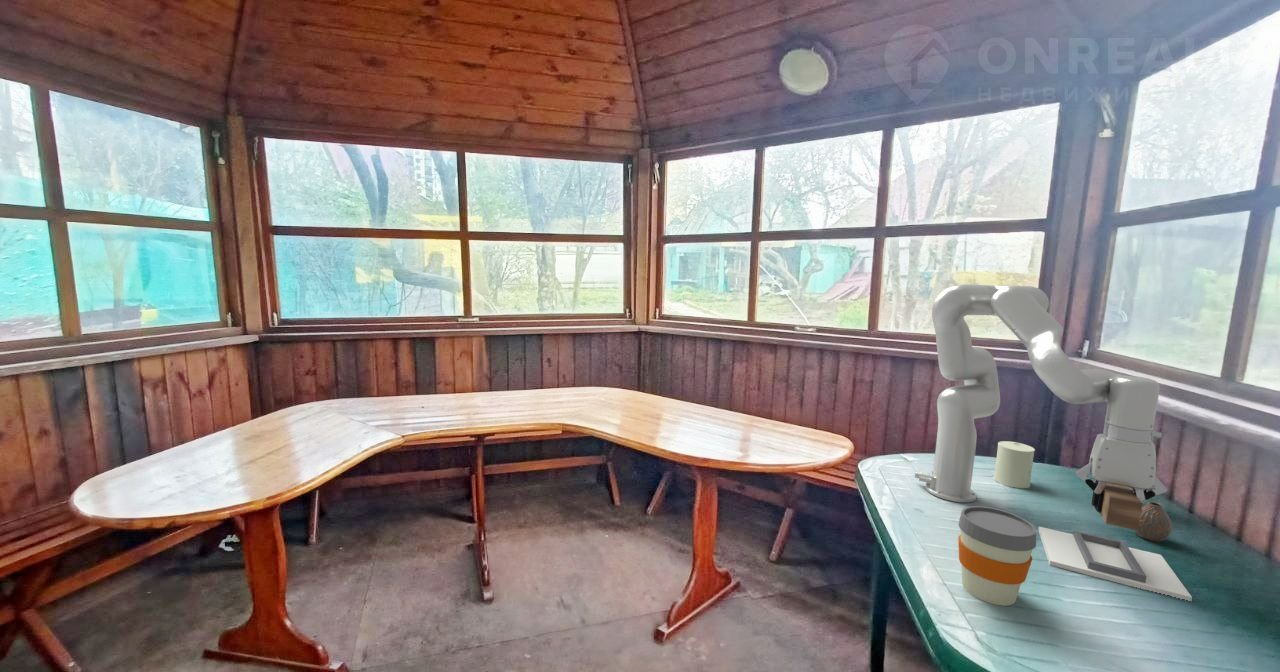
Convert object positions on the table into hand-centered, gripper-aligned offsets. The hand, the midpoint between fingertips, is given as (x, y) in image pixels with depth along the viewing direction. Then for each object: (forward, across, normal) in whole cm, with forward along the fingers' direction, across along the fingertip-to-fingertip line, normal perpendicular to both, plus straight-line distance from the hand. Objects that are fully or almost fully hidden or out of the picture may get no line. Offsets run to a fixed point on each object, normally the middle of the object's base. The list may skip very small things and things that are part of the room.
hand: (1114, 512), depth 111 cm
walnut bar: (+1, 0, 0) cm, 1 cm away
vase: (+12, -12, -21) cm, 27 cm away
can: (+12, +14, -42) cm, 46 cm away
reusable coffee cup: (+12, +23, +28) cm, 38 cm away
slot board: (+12, 0, 0) cm, 12 cm away
